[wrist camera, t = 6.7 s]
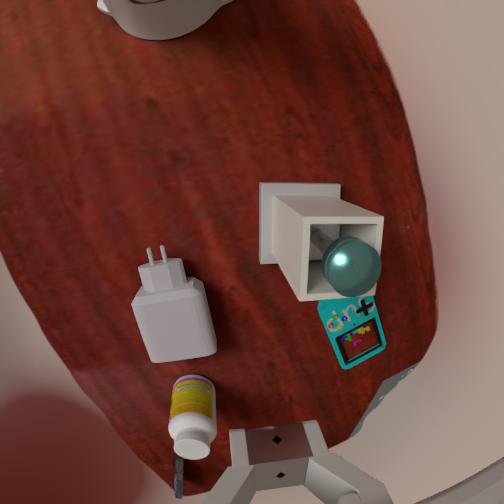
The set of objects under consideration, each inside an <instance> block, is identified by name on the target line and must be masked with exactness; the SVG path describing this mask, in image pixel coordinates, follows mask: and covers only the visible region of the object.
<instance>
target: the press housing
mask: <svg viewBox="0 0 504 504" xmlns="http://www.w3.org/2000/svg"><path fill="white" fill-rule="evenodd" d="M340 186H341V185H340V184H336V183H292V182H259V261H260V264H275V263H278V265H279V266H280V268H281V270H282V272H283V273H284V275H285V277H286V279H287V280H288V282H289V284H290V286H291V288H292V289H293V291H294V293H295V295H296V296H297V298H298V300H299V301H311V300H325V299H338V298H350V297H345V296H342V295H340V294H338V293H337V292H336V291H335V290H334V289H333V287H332V286H331V285H330V284H329V283H328V282H327V280H326V279H325V278H324V276H323V273H322V269H321V262H322V260H309V245H310V224H340V232H339V238H341V237H345V236H354V237H357V238H359V239H361V240H363V241H364V242H366V243H367V244H369V245H371V246H372V247H373V248H375V249H376V251H377V252H378V254H379V256H380V253H381V243H382V234H383V223H384V217H383V216H381V215H378V214H376V213H373V212H371V211H368V210H366V209H363V208H361V207H358V206H356V205H353V204H351V203H348V202H346V201H343V200H340ZM376 284H377V282H376ZM376 284H375V285H374V286H373V287H372V289H370V290H369V291H368V292H367V293H365V294H363V295H361V296H358V297H362V296H373V295H375V291H376Z"/></svg>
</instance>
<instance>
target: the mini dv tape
mask: <svg viewBox="0 0 504 504" xmlns="http://www.w3.org/2000/svg"><path fill="white" fill-rule="evenodd" d="M183 460H184V458H183V457H177V456H176V463H175V496H176V498H180V499H182V489H183Z"/></svg>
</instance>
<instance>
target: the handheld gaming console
mask: <svg viewBox="0 0 504 504" xmlns="http://www.w3.org/2000/svg"><path fill="white" fill-rule="evenodd" d="M318 312H319V315H320V317H321V319H322V322H323V324H324V327H325V329H326V331H327V334H328V336H329V339H330V341H331V344H332V346H333V348H334V351H335V353H336V356H337V358H338V361H339V363H340V366H341V367H342V368H343V369H349V368H351V367H353V366H355V365H357V364H359V363H361V362H363V361H364V360H366V359H368V358H370V357H372V356H374V355H375V354H377V353H379V352H381V351H382V350H383V349H384V348H385V347H386V341H385V337H384V333H383V329H382V326H381V322H380V319H379V315H378V312H377V308H376V305H375V302H374V298H373V296H362V297H350V298H338V299H325V300H320V301H319V303H318ZM371 321H372V323H373V326H374V329H375V332H376V335H377V339H378V342H379V344H378V345H376V346H374V347H372V348H370V349H368V350H367V351H365V352H363V353H361V354H359V355H357V356H355V357H353V358H352V359H350V360H347V358H346V355H345V353H344V350H343V348H342V345H341V343H340V341H339V338H342V341H343V342H344V341H346V340H349V341H351V340H352V339H351V335H353V334H355V333H356V332H359V333H361V332H362V334H364V333H365V330H367V331H370V328H369V326H367V327H366V324H368V323H369V322H371ZM350 332H351V333H350ZM360 341H361V339H359V340H357V341H355V342H353V345H354V347H355V346H357V345H356V343H358V342H360Z"/></svg>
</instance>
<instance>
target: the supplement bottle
mask: <svg viewBox="0 0 504 504" xmlns="http://www.w3.org/2000/svg"><path fill="white" fill-rule="evenodd" d="M168 428H169V433H170V435H171V437H172V438H173V439H174V451H175V452H176V453H177V454H178V455H179V456H181V457H183V458H186V459H192V460H196V459H202V458H204V457H206V456H207V455H208V454H209V452H210V443H211V442H212V441H213V440H214V438H215V437H216V434H217V424H216V395H215V388H214V385H213V384H212V382H211V381H210V380H208V379H207V378H205V377H203V376H200V375H186V376H183V377H181V378H179V379H178V380H177V381H176V382H175V384H174V387H173V394H172V401H171V410H170V418H169V427H168Z"/></svg>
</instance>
